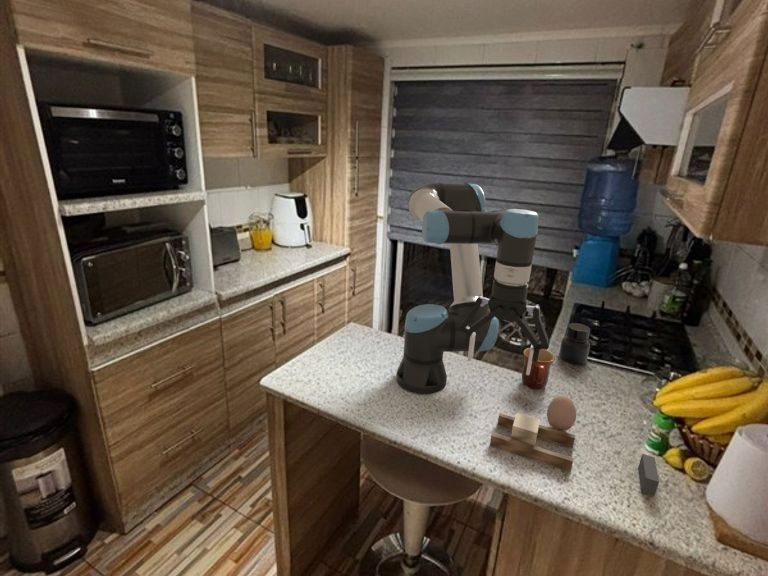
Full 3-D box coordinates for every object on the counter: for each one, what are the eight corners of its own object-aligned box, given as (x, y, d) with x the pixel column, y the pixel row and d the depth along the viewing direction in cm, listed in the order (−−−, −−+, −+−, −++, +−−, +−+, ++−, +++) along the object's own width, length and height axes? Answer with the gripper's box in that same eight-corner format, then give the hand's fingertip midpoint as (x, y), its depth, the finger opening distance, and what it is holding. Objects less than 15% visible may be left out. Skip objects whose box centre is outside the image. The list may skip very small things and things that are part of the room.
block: (509, 446, 100) (512, 425, 98) (513, 433, 105) (516, 413, 103) (533, 454, 98) (537, 433, 96) (536, 440, 103) (540, 419, 101)
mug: (517, 375, 131) (522, 346, 128) (546, 379, 130) (551, 349, 126) (521, 396, 120) (526, 365, 117) (553, 401, 119) (559, 369, 115)
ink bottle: (591, 359, 143) (598, 328, 139) (582, 369, 137) (589, 335, 133) (563, 349, 149) (569, 319, 145) (553, 358, 143) (559, 326, 139)
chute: (489, 445, 100) (491, 435, 99) (498, 422, 109) (499, 413, 108) (570, 472, 93) (573, 461, 92) (572, 445, 101) (575, 435, 100)
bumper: (641, 492, 88) (645, 477, 87) (638, 467, 95) (642, 453, 94) (654, 496, 87) (659, 481, 86) (650, 471, 94) (654, 457, 93)
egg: (577, 429, 107) (584, 397, 104) (565, 441, 103) (573, 408, 99) (551, 417, 112) (557, 385, 108) (539, 428, 107) (545, 395, 104)
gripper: (451, 276, 94) (443, 359, 101) (571, 296, 84) (553, 386, 91) (459, 268, 100) (451, 346, 107) (572, 285, 91) (555, 370, 98)
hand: (498, 365), depth 99 cm, fingers open, 13 cm apart
